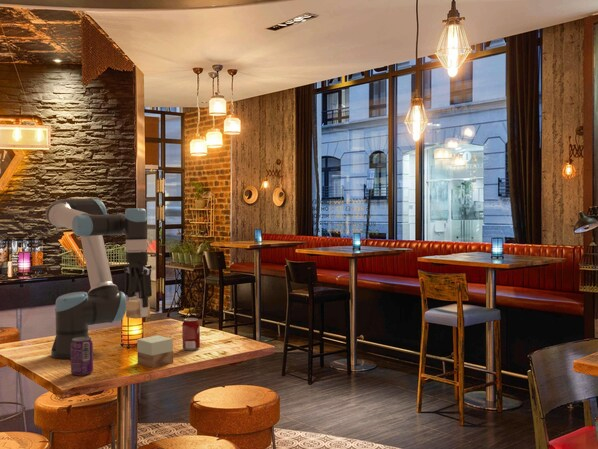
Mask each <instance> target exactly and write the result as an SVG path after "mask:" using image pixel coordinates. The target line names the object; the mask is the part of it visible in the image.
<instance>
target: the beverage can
mask: <svg viewBox="0 0 598 449" xmlns="http://www.w3.org/2000/svg"><path fill="white" fill-rule="evenodd" d="M93 344H94V343H93V341H92V337H90V336H89V337H76V338H73V339H72V343H71V359H70V373H71V374H73V375H75V376H86V374H87V375H89V374H91V373H92V372H93V371H94V345H93Z"/></svg>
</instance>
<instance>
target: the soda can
mask: <svg viewBox="0 0 598 449" xmlns="http://www.w3.org/2000/svg"><path fill="white" fill-rule="evenodd" d="M181 326H182V327H181V328H182V329H181V330H182V338H181V339H182V350H185V351H188V352H191V351H193V352H194V351H198V349H200V348H201V338H200V336H201V335H200V334H201V330H200V328H201V325H200V322H199V319H198V318H197V317H187V318H184V319H183V322H182V325H181Z"/></svg>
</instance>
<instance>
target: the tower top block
mask: <svg viewBox="0 0 598 449" xmlns="http://www.w3.org/2000/svg"><path fill="white" fill-rule="evenodd" d="M173 342H174V340H173V338H171V337H168V336H167V337H166V336H163V335H159V334H157V335H152V336H148V337H141V338H136V346H137V347H136V350H137V351H136V352H137V353H138V352H140V353H144V354H147V355H151V356H153V355H157V354H162V353H166V352H171V351H173V352H174V349H173V347H174V343H173Z"/></svg>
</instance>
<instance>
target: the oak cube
mask: <svg viewBox="0 0 598 449" xmlns="http://www.w3.org/2000/svg"><path fill="white" fill-rule="evenodd" d="M125 317H126V318H129V319H136V320H137V319H141V318H144V317H140V298H136V299H133V300H129V299H126V312H125ZM148 317H151V301H150V299H148V316H146V317H145V318H148Z"/></svg>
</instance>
